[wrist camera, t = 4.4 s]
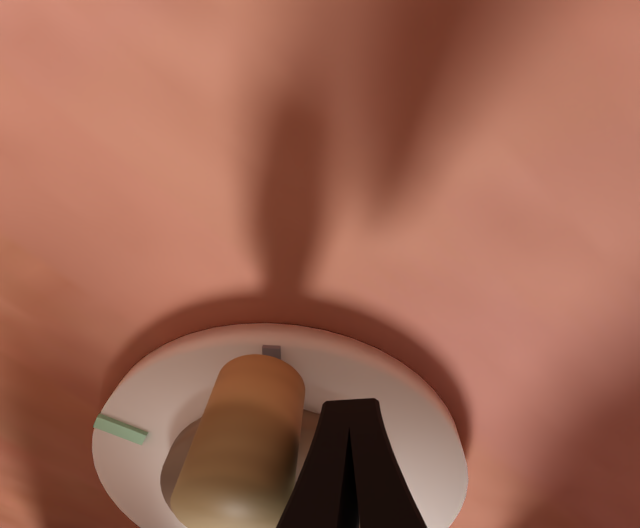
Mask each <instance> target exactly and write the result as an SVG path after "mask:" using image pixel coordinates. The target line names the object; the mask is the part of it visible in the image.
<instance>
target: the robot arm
mask: <svg viewBox="0 0 640 528" xmlns="http://www.w3.org/2000/svg"><path fill="white" fill-rule="evenodd" d="M359 525H360V528H427V526H426V524H425V522H424V520H423V518H422V516H421V513H420V511H419V509H418V507H417V505H416V503H415V501H414V499H413V497H412V495H411V492H410V490H409V488H408V486H407V483H406V481H405V479H404V476H403V474H402V472H401V469H400V467H399V465H398V462H397V460H396V457H395V455H394V452H393V450H392V447H391V444H390V441H389V438H388V435H387V432H386V429H385V426H384V422H383V419H382V414H381V410H380V404H379V401H378V400H377V399H375V398H364V399H348V400H331V401H326V402H324V403H323V404H322V409H321V413H320V417H319V420H318V424H317V427H316V431H315V434H314V437H313V440H312V443H311V445H310V448H309V451H308V454H307V456H306V459H305V462H304V464H303V467H302V469H301V472H300V474H299V477H298V479H297V482H296V484H295V487H294V489H293V491H292V494H291V496H290V498H289V500H288V502H287V504H286V507H285V509H284V511H283V513H282V515H281V518H280V520H279V522H278V524H277V526H276V528H359Z"/></svg>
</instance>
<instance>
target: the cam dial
mask: <svg viewBox="0 0 640 528" xmlns="http://www.w3.org/2000/svg"><path fill="white" fill-rule="evenodd" d="M304 399H305V385H304V382H303V379H302V377H301V376H300V374H299V373H298V372H297V371H296V370H295V369H294V368H293V367H292V366H291V365H289V364H288V363H286V362H284V361H282V360H280V359H278V358H275V357H272V356H267V355H261V354H251V355H244V356H240V357H237V358H235V359H232V360H231V361H229V362H228V363H226V364H225V365H224V366H223V367H222V369H221V370H220V372H219V374H218V377H217V379H216V382H215V385H214V387H213V390H212V392H211V395H210V397H209V400H208V403H207V405H206V408H205V410H204V413H203V415H202V417H201V418H199V419H197V420H196V421H194V422H193V423H191V424H190V425H188V426H187V427H186V428H185V429H184V430H182V431H181V433H180V434H179V435H178V436H177V438H176V439H175V441H174V443H173V444H172V446H171V448H170V451H169V453H168V455H167V458H166V460H165V462H164V464H163V467H162V471H161V475H160V486H161V491H162V494H163V497H164V499H165V502H166V503H167V505H168V507H169V508H170V510H171V511H172V512H173V513H174V515H175V516H176V518H177V519H178V520H179V521H180V522H181V523H182V524H183V525H184V526H186V527H187V528H276V526H277V524H278V522H279V520H280V518H281V515H282V513H283V511H284V509H285V507H286V504H287V502H288V500H289V498H290V496H291V494H292V491H293V489H294V487H295V484H296V482H297V479H298V477H299V474H300V472H301V469H302V467H303V464H304V462H305V459H306V456H307V454H308V451H309V448H310V445H311V443H312V440H313V437H314V434H315V431H316V427H317V424H318V420H319V417H320V414H318V413H314V412H311V411H308V410H304V409H303V407H304ZM359 528H360V525H359Z"/></svg>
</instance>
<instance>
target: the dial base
mask: <svg viewBox="0 0 640 528" xmlns="http://www.w3.org/2000/svg"><path fill="white" fill-rule="evenodd" d="M251 354H261V355H267V356H272V357H275V358H278V359H280V360H282V361H284V362H286V363H288V364H289V365H291V366H292V367H293V368H294V369H295V370H296V371H297V372H298V373H299V374H300V376H301V377H302V379H303V382H304V385H305V399H304V407H303V409H304V410H308V411H311V412H314V413H318V414H320V413H321V409H322V404H323V403H324V402H326V401H331V400H348V399H364V398H375V399H377V400H378V401H379V404H380V410H381V414H382V419H383V422H384V426H385V429H386V432H387V435H388V438H389V441H390V444H391V447H392V450H393V452H394V455H395V457H396V460H397V462H398V465H399V467H400V469H401V472H402V474H403V476H404V479H405V481H406V483H407V486H408V488H409V490H410V492H411V495H412V497H413V499H414V501H415V503H416V505H417V507H418V509H419V511H420V513H421V516H422V518H423V520H424V522H425V524H426V526H427V528H448V527H449V526H450V525H451V524H452V523H453V521H454V520H455V518H456V517H457V515H458V513H459V512H460V510H461V508H462V505H463V502H464V500H465V497H466V492H467V486H468V469H467V463H466V459H465V456H464V452H463V449H462V445H461V442H460V438H459V435H458V432H457V428H456V425H455V422H454V420H453V418H452V416H451V414H450V412H449V410H448V408H447V406H446V405H445V404H444V402H443V401H442V400H441V398H440V397H439V396H438V394H437V393H436V392H435V390H434V389H433V388H432V387H431V386H430V385H429V384H428V383H427V382H426V381H425V380H423V379H422V378H421V377H420V376H419V375H418V374H417V373H415V372H414V371H413V370H411V369H410V368H409V367H407V366H406V365H405V364H403V363H402V362H400V361H399V360H397V359H395V358H394V357H392V356H390V355H388V354H386V353H385V352H383V351H381V350H379V349H377V348H375V347H373V346H370V345H368V344H365V343H363V342H360V341H358V340H356V339H353V338H350V337H347V336H343V335H340V334H337V333H333V332H330V331H326V330H321V329H316V328H310V327H305V326H299V325H289V324H276V323H250V324H235V325H228V326H221V327H214V328H210V329H206V330H202V331H199V332H195V333H191V334H188V335H185V336H183V337H180V338H178V339H176V340H173V341H171V342H168V343H166V344H164V345H163V346H161V347H159V348H157V349H156V350H154V351H152V352H151V353H149V354H147V355H146V356H145V357H144V358H143V359H141V360H140V361H139V362H138V363H137V364H135V365H134V366H133V367H132V368H131V369H130V370H129V372H128V373H127V374H126V375H125V376H124V378H123V379H122V380H121V381H120V383H119V384H118V386H117V387H116V389H115V390H114V392H113V393H112V395H111V396H110V398H109V399H108V401H107V402H106V404H105V405H104V407H103V409H102V411H101V413H99V415H98V416H97V418H96V421H95V423H94V425H93V427H94V432H93V437H92V454H93V460H94V466H95V469H96V471H97V474H98V477H99V479H100V481H101V483H102V485H103V487H104V488H105V490H106V492H107V494H108V495H109V496H110V498H111V499H112V500H113V501H114V503H115V504H116V505H117V507H118V508H119V509H120V510H121V511H122V512H123V513H124V514H125V515H126V516H127V517H128V518H129V519H130V520H131V521H133V522H134V523H135V524H136V525H138V526H139V527H140V528H187V527H186V526H184V525H183V524H182V523H181V522H180V521H179V520H178V519H177V518H176V516H175V515H174V513H173V512H172V511H171V510H170V508H169V507H168V505H167V503H166V502H165V499H164V497H163V494H162V491H161V486H160V475H161V471H162V467H163V464H164V462H165V460H166V458H167V455H168V453H169V451H170V448H171V446H172V444H173V443H174V441H175V439H176V438H177V436H178V435H179V434H180V433H181V431H182V430H184V429H185V428H186V427H187V426H188V425H190V424H191V423H193V422H194V421H196V420H197V419H199V418H201V417H202V415H203V413H204V410H205V408H206V405H207V403H208V400H209V397H210V395H211V392H212V390H213V387H214V385H215V382H216V379H217V377H218V374H219V372H220V370H221V369H222V367H223V366H224V365H225V364H226V363H228V362H229V361H231V360H232V359H235V358H237V357H240V356H244V355H251Z"/></svg>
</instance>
